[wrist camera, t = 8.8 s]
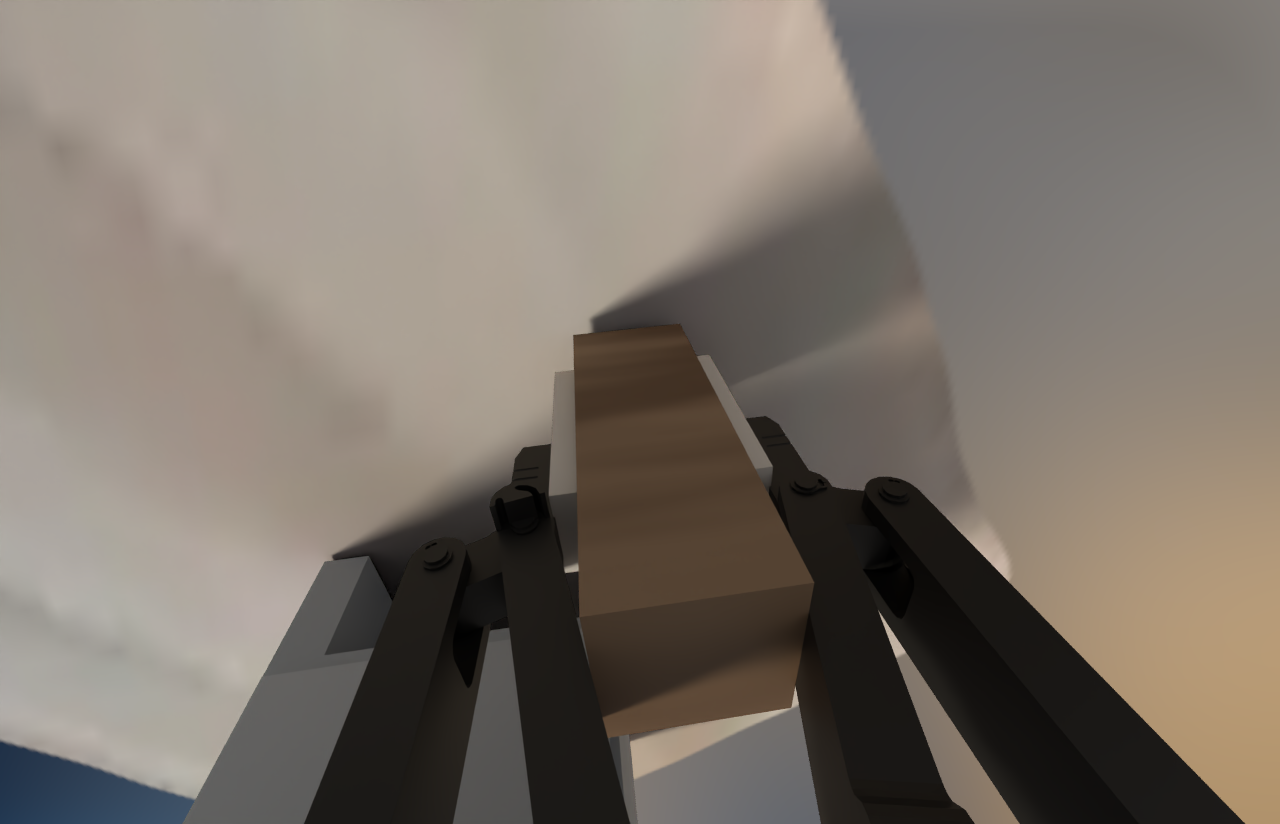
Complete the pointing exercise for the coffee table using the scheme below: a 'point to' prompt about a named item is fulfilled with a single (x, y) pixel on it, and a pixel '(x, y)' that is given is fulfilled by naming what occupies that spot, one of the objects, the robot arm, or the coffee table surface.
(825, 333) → the coffee table surface
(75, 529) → the coffee table surface
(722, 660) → the wooden block
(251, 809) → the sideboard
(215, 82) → the coffee table surface
